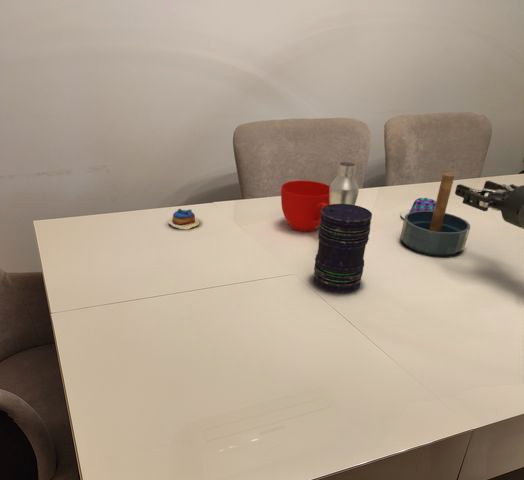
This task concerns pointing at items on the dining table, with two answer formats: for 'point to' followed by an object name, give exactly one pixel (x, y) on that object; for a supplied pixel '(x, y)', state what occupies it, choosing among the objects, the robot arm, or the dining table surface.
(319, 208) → the ceramic cup
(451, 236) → the bowl
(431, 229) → the stirring stick
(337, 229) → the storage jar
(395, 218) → the dining table surface
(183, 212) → the dessert
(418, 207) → the purple patterned hat
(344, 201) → the silver bottle
